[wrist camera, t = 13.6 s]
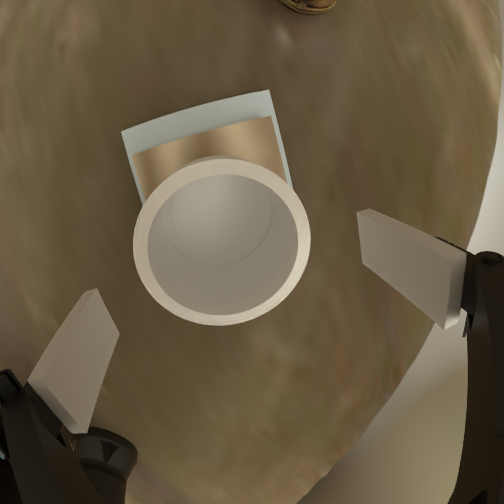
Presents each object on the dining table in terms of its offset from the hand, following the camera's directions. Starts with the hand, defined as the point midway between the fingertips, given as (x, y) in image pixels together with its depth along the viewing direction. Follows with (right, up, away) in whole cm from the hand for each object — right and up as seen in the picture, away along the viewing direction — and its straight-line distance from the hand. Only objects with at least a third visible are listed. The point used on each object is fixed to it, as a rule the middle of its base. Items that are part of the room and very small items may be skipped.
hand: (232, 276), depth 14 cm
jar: (-3, +6, +17) cm, 19 cm away
